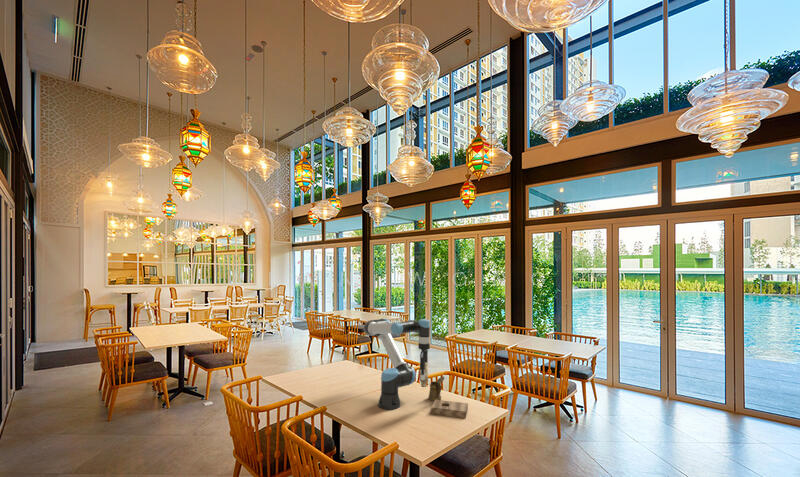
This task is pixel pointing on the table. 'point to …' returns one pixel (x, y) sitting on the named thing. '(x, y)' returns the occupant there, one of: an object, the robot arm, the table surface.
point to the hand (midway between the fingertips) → (423, 378)
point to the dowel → (424, 382)
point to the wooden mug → (435, 390)
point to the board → (449, 408)
